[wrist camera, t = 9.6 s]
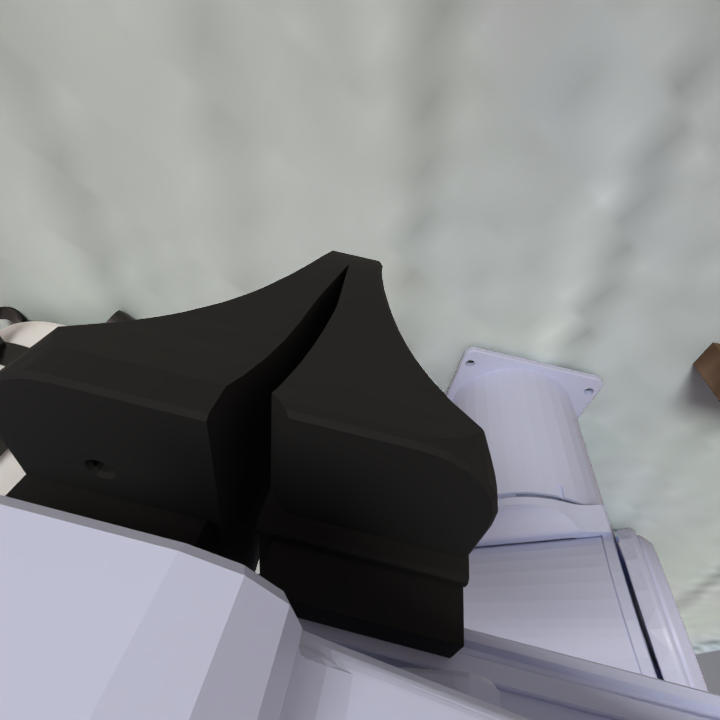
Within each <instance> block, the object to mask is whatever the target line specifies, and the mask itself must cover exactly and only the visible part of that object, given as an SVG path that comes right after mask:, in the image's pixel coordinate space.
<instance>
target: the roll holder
mask: <svg viewBox="0 0 720 720" xmlns="http://www.w3.org/2000/svg"><path fill="white" fill-rule="evenodd" d="M694 366H695V367H696V369H697V370H698V371H699V373H700V374H701V376H702V377H703V379H704V380H705V381H706V383H707V384H708V386H709V387H710V388H711V390H712V391H713V393H714V394H715V396H716V397H717V398H718V400H719V401H720V344H717V343H713V344H712V345H711V346H710V347H709V348H708V349H707V350H706V351H705V352H704V353H703V354H702V355H701V356H700V357H699V359H698V360H697V361H696V362H695V363H694Z"/></svg>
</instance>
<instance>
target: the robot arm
mask: <svg viewBox="0 0 720 720" xmlns="http://www.w3.org/2000/svg"><path fill="white" fill-rule="evenodd" d="M382 267H383V266H382V265H381V263H380V262H379V261H376V260H371V259H367V258H363V257H358V256H354V255H349V254H345V253H341V252H336V251H331V252H329V253H327V254H326V255H324V256H322V257H321V258H319V259H317V260H316V261H314V262H312V263H311V264H309V265H307V266H305V267H304V268H302V269H300V270H298V271H296V272H295V273H293V274H291V275H289V276H287V277H285V278H283V279H281V280H279V281H276V282H274V283H272V284H270V285H268V286H266V287H264V288H262V289H259V290H257V291H254V292H252V293H249V294H246V295H244V296H241V297H238V298H235V299H232V300H229V301H226V302H222V303H218V304H214V305H210V306H207V307H203V308H199V309H195V310H191V311H187V312H182V313H177V314H171V315H166V316H160V317H153V318H146V319H140V320H132V321H124V322H113V323H100V324H88V325H76V326H58V327H57V328H55V329H54V330H53V331H51V332H50V333H49V334H47V335H46V336H45V337H44V338H42V339H41V340H40V341H38V342H37V343H36V344H34V345H33V346H32V347H30V348H29V349H28V350H26V351H25V352H24V353H22V354H21V355H20V356H18V357H17V358H16V359H14V360H13V361H12V362H10V363H9V364H8V365H6V366H5V367H4V368H2V369H1V370H0V437H1V439H2V440H3V441H4V443H5V444H6V446H7V447H8V449H9V450H10V452H11V453H12V454H13V456H14V457H15V459H16V460H17V462H18V463H19V464H20V466H21V467H22V469H23V470H24V472H25V473H26V475H25V476H24V477H23V478H22V479H21V480H20V481H19V482H18V483H17V484H16V485H15V486H14V487H13V488H12V489H11V490H10V491H9V492H8V493H7V494H6V495H5V496H3V495H0V720H720V695H718V694H714V693H710V692H708V690H707V687H706V684H705V681H704V678H703V676H702V673H701V670H700V668H699V665H698V662H697V659H696V656H695V653H694V651H693V648H692V645H691V642H690V640H689V637H688V634H687V632H686V629H685V626H684V624H683V621H682V618H681V616H680V613H679V610H678V608H677V605H676V602H675V600H674V597H673V594H672V592H671V589H670V586H669V584H668V581H667V579H666V576H665V574H664V571H663V568H662V566H661V563H660V561H659V558H658V556H657V553H656V551H655V549H654V547H653V545H652V543H651V542H649V541H648V540H646V539H645V538H643V537H642V536H640V535H636V532H635V531H634V530H633V529H632V528H625V529H620V530H617V534H618V538H619V542H620V545H621V548H620V545H619V543H618V540H617V538H616V535H615V533H614V530H613V528H612V525H611V523H610V520H609V518H608V515H607V513H606V510H605V507H604V504H603V501H602V498H601V495H600V491H599V488H598V485H597V482H596V478H595V475H594V472H593V469H592V466H591V462H590V459H589V456H588V453H587V449H586V446H585V443H584V440H583V436H582V433H581V430H580V427H579V424H578V420H577V419H578V417H579V416H580V415H581V413H582V412H583V411H584V409H585V408H586V407H587V406H588V404H589V403H590V402H591V400H592V399H593V398H594V397H595V395H596V394H597V393H598V391H599V390H600V389H601V387H602V386H603V382H602V380H601V378H600V377H599V376H596V375H592V374H588V373H584V372H580V371H575V370H571V369H567V368H562V367H558V366H554V365H550V364H545V363H541V362H537V361H533V360H528V359H524V358H520V357H516V356H511V355H507V354H503V353H498V352H494V351H490V350H486V349H481V348H477V347H470V348H468V349H466V350H465V352H464V354H463V356H462V359H461V361H460V364H459V366H458V368H457V371H456V373H455V375H454V378H453V380H452V382H451V385H450V387H449V390H448V392H447V394H446V395H445V394H444V393H443V392H442V391H441V390H440V389H439V388H438V386H437V385H436V384H435V383H434V382H433V381H432V380H431V379H430V378H429V376H428V375H427V374H426V372H425V371H424V370H423V369H422V367H421V366H420V365H419V363H418V362H417V361H416V359H415V358H414V356H413V355H412V353H411V351H410V350H409V348H408V347H407V345H406V343H405V341H404V339H403V338H402V336H401V334H400V332H399V330H398V327H397V325H396V323H395V321H394V318H393V316H392V313H391V310H390V308H389V305H388V301H387V298H386V294H385V291H384V286H383V280H382ZM469 360H472V361H474V362H472V363H468V362H467V361H469ZM588 388H591V389H590V390H586V389H588ZM621 549H622V550H621ZM622 552H623V553H622ZM623 555H624V556H623ZM259 559H260V574H257V573H255V570H256V567H257V564H258V560H259Z"/></svg>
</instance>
